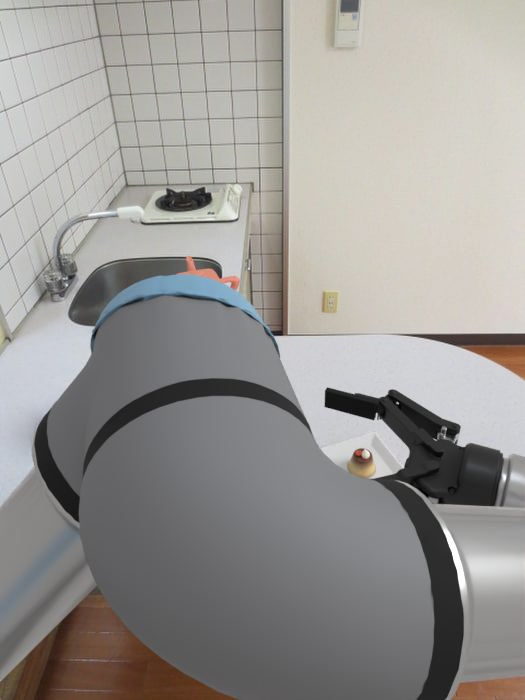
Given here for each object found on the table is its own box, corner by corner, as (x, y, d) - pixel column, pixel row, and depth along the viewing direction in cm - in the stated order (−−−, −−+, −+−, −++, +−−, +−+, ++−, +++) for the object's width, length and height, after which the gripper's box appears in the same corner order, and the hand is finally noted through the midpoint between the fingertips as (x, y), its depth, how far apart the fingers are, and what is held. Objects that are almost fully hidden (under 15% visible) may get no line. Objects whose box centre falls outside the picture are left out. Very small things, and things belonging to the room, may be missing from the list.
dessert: (313, 454, 90) (313, 434, 88) (374, 435, 94) (376, 415, 91) (346, 507, 81) (348, 486, 78) (413, 483, 84) (416, 462, 82)
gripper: (473, 616, 47) (260, 533, 55) (502, 436, 65) (339, 393, 73) (490, 566, 43) (256, 485, 51) (516, 388, 61) (341, 349, 69)
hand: (305, 431), depth 62 cm, fingers open, 13 cm apart
